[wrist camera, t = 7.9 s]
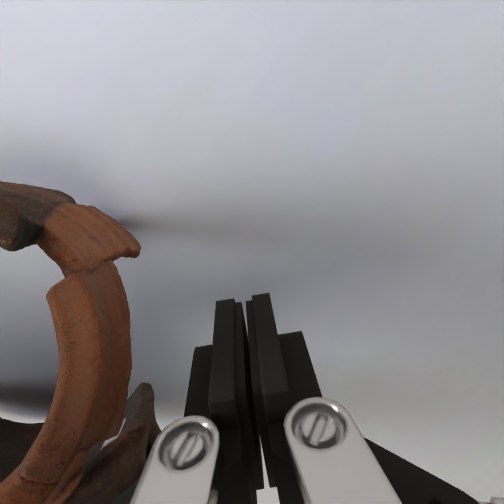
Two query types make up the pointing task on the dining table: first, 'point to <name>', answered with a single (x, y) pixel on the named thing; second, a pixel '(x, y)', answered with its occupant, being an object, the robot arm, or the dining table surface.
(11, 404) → the dining table surface
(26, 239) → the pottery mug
